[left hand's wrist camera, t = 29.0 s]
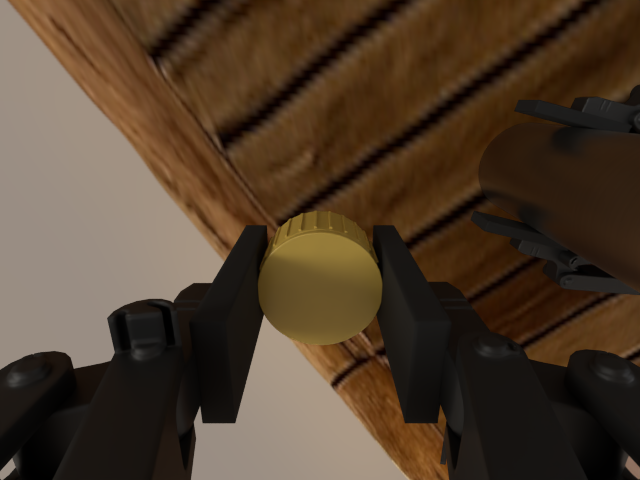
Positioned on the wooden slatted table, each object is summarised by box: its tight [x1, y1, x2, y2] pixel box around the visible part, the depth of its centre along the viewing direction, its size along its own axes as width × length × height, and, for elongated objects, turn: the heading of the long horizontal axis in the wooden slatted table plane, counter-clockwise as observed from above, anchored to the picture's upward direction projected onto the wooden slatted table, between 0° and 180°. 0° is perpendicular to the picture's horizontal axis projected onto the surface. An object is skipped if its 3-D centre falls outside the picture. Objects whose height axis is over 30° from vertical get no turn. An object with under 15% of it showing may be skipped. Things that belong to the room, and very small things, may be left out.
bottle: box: [479, 123, 640, 293], centre depth 21 cm, size 8×8×25 cm
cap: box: [258, 211, 382, 345], centre depth 13 cm, size 4×4×2 cm
